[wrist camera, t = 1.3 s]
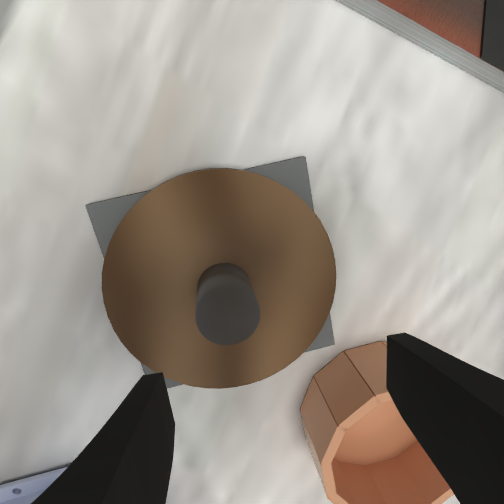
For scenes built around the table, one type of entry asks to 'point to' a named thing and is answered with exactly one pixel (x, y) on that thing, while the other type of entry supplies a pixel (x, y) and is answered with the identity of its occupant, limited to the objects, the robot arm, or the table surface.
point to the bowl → (365, 436)
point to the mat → (283, 172)
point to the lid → (219, 278)
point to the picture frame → (447, 30)
